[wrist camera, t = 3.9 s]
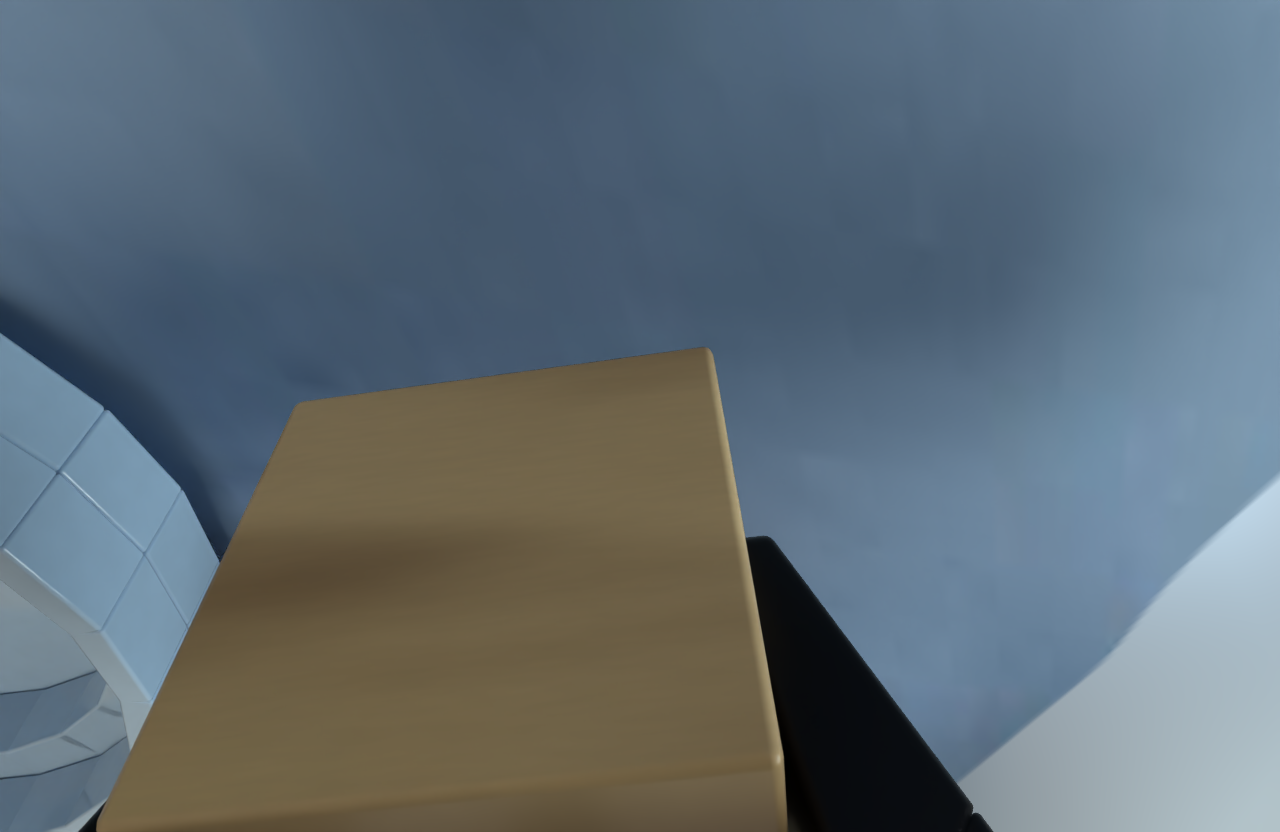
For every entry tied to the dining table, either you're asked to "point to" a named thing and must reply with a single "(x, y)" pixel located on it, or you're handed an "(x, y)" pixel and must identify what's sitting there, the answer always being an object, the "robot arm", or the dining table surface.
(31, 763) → the bowl
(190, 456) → the dining table surface
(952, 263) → the dining table surface
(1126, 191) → the dining table surface
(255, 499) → the birch cube
